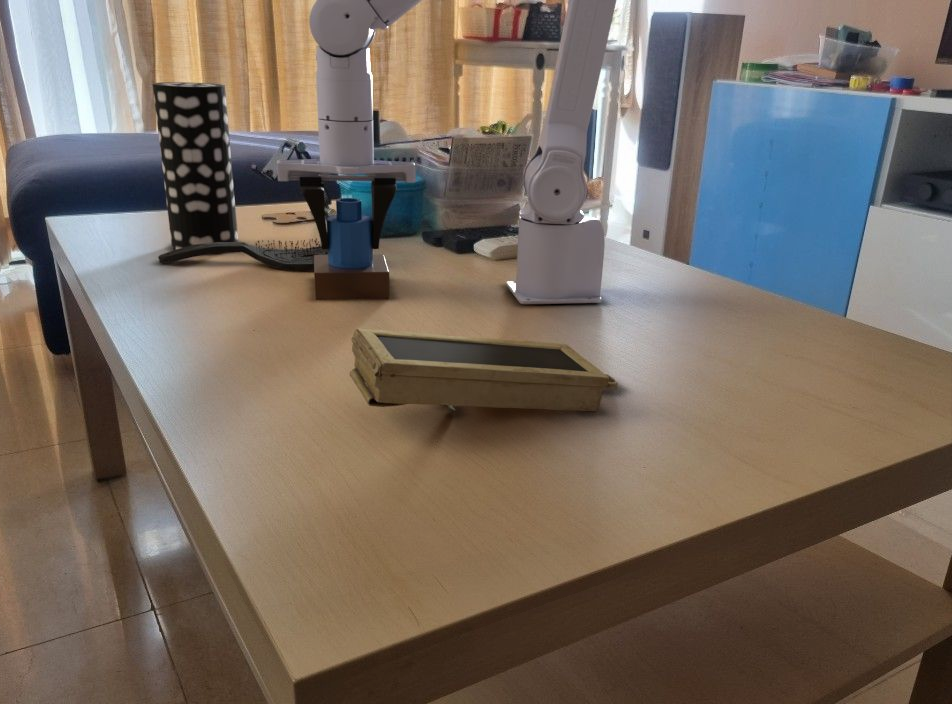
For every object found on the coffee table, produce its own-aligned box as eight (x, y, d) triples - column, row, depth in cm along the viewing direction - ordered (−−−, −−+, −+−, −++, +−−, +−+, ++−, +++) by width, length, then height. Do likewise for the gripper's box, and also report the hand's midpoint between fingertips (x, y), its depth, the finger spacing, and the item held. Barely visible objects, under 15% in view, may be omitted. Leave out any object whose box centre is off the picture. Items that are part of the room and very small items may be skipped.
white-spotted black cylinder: (252, 246, 111) (239, 86, 103) (200, 257, 105) (182, 87, 97) (210, 236, 115) (194, 81, 107) (158, 246, 109) (137, 82, 101)
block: (383, 278, 100) (383, 254, 98) (389, 298, 92) (389, 271, 91) (315, 280, 98) (313, 254, 97) (315, 299, 91) (314, 272, 90)
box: (341, 386, 65) (349, 325, 64) (584, 395, 76) (598, 343, 74) (369, 431, 59) (379, 365, 57) (632, 434, 69) (648, 378, 67)
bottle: (371, 257, 97) (369, 196, 94) (374, 268, 92) (372, 204, 89) (328, 257, 96) (325, 195, 93) (329, 269, 91) (326, 204, 88)
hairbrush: (163, 232, 104) (365, 224, 108) (168, 260, 106) (367, 252, 109) (147, 248, 97) (365, 238, 100) (153, 278, 98) (368, 268, 102)
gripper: (272, 121, 83) (281, 256, 88) (418, 125, 86) (418, 255, 91) (275, 114, 89) (283, 241, 94) (411, 118, 92) (411, 240, 97)
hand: (349, 247), depth 93 cm, fingers closed on bottle, 5 cm apart
